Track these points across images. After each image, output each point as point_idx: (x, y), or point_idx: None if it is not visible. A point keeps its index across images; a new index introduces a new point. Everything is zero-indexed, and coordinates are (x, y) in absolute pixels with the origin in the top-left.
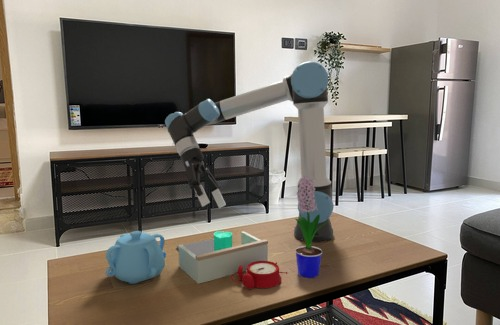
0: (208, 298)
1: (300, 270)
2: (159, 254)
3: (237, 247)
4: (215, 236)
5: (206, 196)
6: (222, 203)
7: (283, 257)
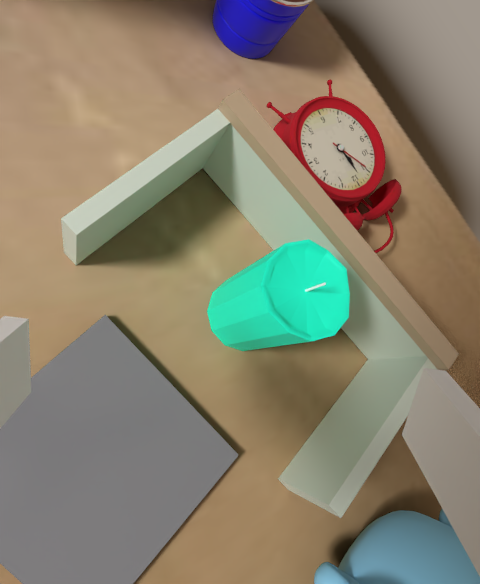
0: (437, 304)
1: (277, 42)
2: (454, 539)
3: (341, 218)
4: (344, 321)
5: (477, 409)
6: (14, 354)
7: (123, 85)
